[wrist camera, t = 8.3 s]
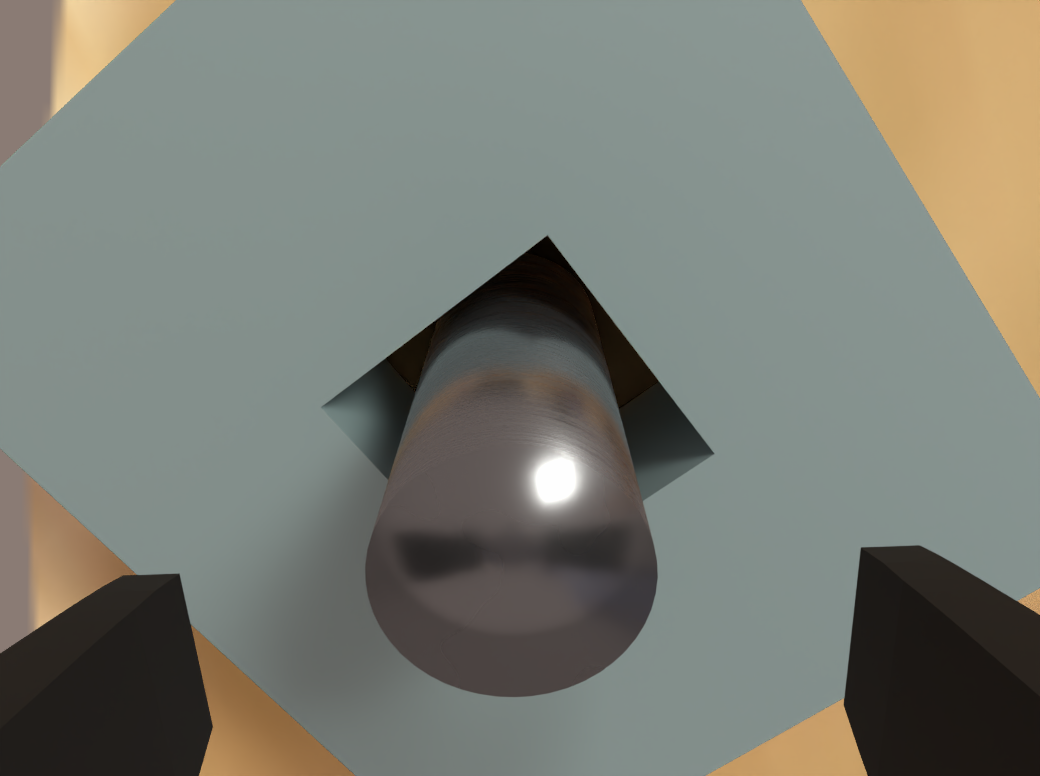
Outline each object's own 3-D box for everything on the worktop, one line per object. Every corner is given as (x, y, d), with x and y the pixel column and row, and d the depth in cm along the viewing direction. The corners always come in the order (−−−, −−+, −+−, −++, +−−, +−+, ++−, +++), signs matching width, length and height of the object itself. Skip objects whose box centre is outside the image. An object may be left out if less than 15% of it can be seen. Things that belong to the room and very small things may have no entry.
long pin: (618, 368, 18) (698, 643, 10) (478, 424, 19) (442, 731, 10) (558, 227, 17) (592, 401, 9) (411, 290, 18) (312, 513, 9)
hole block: (1005, 442, 19) (1124, 540, 15) (493, 753, 22) (487, 897, 18) (560, -268, 14) (574, -377, 11) (-9, 252, 17) (-152, 309, 14)
